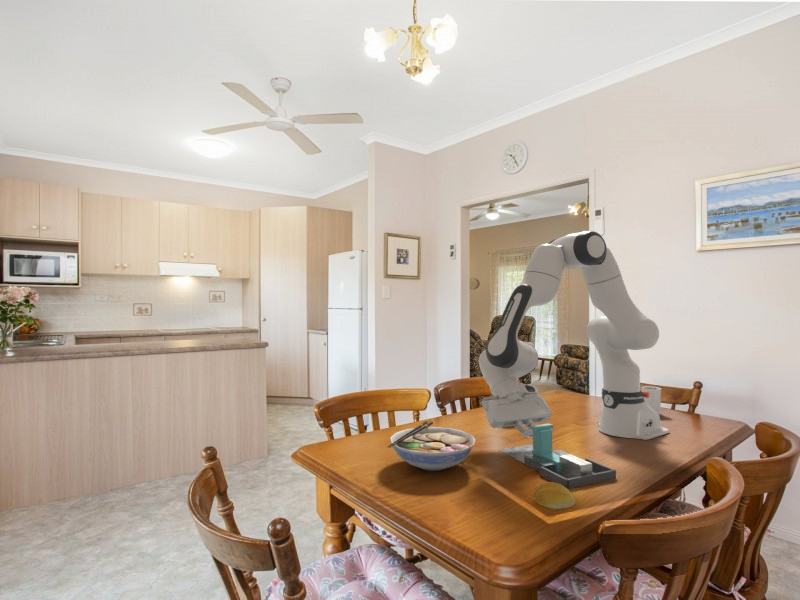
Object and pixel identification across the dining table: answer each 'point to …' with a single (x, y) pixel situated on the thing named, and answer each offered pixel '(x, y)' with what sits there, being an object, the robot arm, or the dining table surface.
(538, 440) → the rake tool
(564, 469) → the beige cube
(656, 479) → the dining table surface
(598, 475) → the tray
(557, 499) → the bread roll
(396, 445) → the ramen bowl
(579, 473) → the chip
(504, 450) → the slot board
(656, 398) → the drinking glass
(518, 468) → the dining table surface
